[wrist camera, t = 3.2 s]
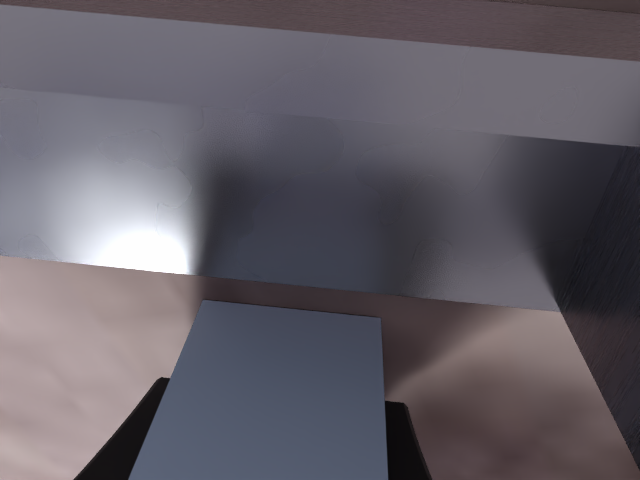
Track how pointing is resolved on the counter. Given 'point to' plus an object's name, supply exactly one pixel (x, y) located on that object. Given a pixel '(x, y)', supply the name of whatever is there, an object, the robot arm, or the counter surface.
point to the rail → (339, 152)
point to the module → (271, 399)
